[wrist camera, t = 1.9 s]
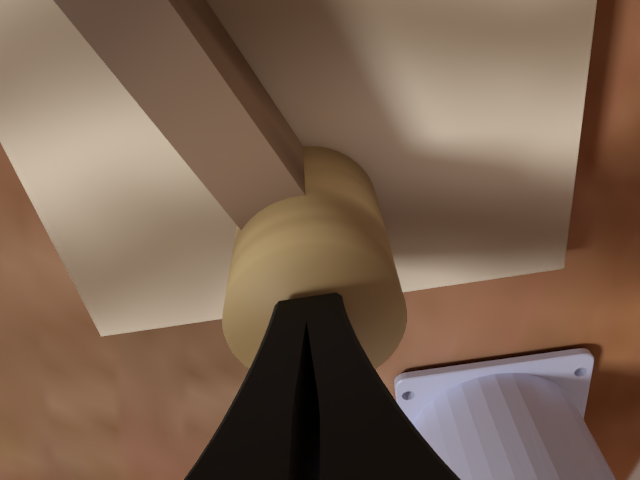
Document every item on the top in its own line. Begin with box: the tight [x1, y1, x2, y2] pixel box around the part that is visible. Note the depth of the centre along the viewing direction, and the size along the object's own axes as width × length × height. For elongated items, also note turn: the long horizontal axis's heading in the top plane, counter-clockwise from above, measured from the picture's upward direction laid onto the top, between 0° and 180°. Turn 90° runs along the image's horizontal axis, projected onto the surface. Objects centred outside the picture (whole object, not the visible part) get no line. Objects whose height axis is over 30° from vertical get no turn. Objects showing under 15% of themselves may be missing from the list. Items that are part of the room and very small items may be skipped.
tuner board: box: [0, 0, 597, 336], centre depth 14 cm, size 18×16×1 cm
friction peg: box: [54, 0, 407, 369], centre depth 11 cm, size 15×4×5 cm, turn 31°
